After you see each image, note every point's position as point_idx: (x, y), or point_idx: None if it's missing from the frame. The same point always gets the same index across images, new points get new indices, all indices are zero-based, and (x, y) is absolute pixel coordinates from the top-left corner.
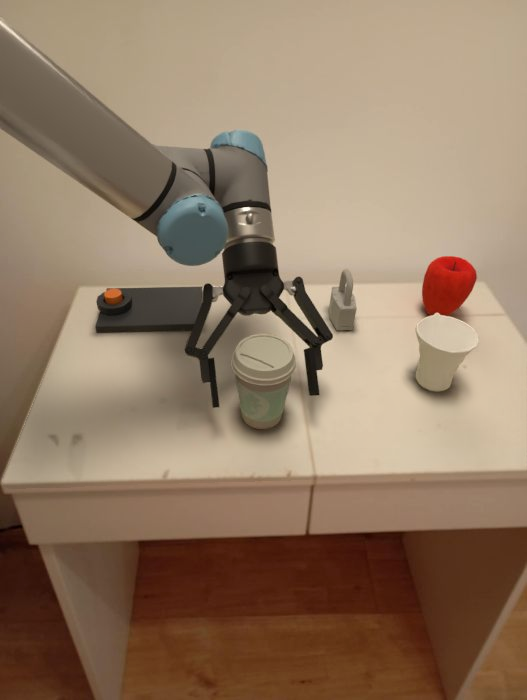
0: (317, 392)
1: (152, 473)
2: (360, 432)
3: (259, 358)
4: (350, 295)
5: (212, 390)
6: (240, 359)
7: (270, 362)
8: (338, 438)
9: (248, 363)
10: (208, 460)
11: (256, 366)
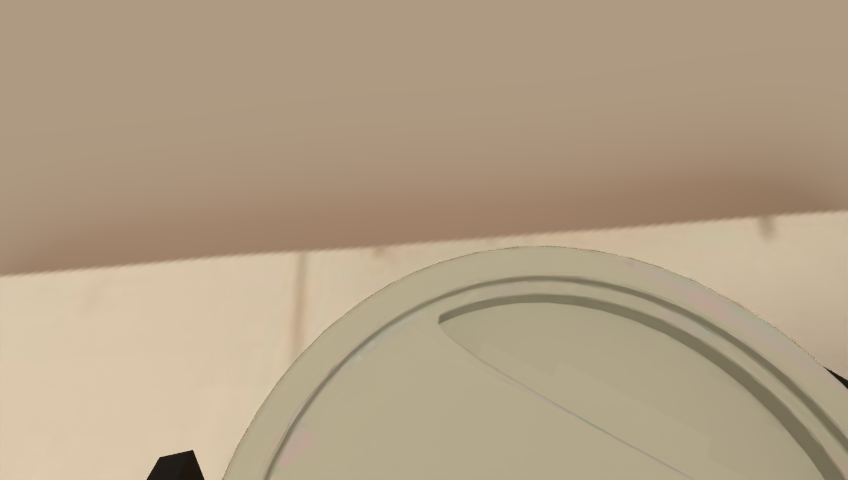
0: (164, 468)
1: (810, 224)
2: (83, 431)
3: (614, 459)
4: None
5: (837, 378)
6: (838, 400)
7: (479, 394)
8: (181, 395)
9: (712, 401)
10: None
11: (617, 356)
